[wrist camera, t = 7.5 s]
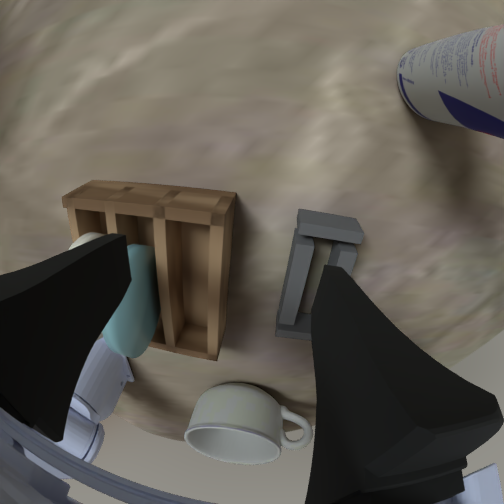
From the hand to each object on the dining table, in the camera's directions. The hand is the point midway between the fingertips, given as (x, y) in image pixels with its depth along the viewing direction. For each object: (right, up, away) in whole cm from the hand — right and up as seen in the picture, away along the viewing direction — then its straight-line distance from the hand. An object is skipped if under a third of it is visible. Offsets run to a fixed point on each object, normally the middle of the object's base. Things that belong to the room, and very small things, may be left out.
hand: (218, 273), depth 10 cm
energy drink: (+13, +12, +4) cm, 18 cm away
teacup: (+1, -17, +22) cm, 27 cm away
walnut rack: (-7, 0, +13) cm, 14 cm away
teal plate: (-6, 0, +12) cm, 13 cm away
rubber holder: (+6, -1, +12) cm, 13 cm away
